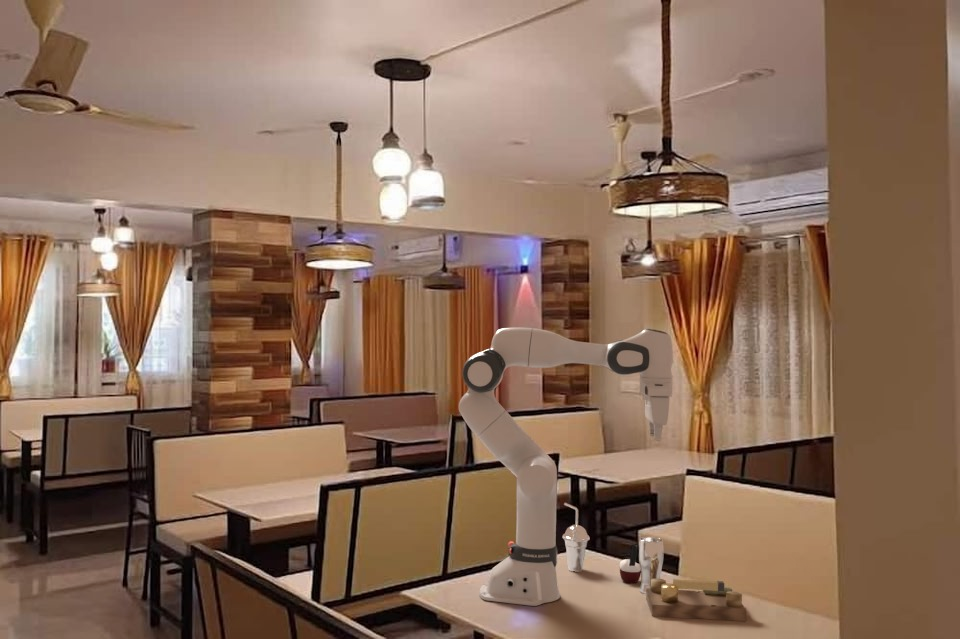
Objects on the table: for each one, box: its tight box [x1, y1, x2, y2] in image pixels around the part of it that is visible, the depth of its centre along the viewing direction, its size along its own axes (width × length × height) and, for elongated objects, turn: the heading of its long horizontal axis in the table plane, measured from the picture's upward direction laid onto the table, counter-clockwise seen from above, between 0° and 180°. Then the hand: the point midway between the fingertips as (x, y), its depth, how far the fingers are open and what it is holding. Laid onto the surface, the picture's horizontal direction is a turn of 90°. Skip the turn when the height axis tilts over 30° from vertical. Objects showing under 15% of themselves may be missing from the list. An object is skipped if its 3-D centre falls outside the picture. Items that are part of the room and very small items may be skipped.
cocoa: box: [619, 544, 641, 584], centre depth 245 cm, size 10×6×12 cm, turn 162°
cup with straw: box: [562, 502, 590, 573], centre depth 257 cm, size 8×9×20 cm
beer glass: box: [638, 536, 665, 595], centre depth 236 cm, size 7×7×15 cm
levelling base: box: [645, 578, 747, 622], centre depth 221 cm, size 24×14×6 cm, turn 85°
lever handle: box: [661, 578, 725, 602], centre depth 218 cm, size 16×4×5 cm, turn 85°
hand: (655, 438), depth 226 cm, fingers open, 8 cm apart
